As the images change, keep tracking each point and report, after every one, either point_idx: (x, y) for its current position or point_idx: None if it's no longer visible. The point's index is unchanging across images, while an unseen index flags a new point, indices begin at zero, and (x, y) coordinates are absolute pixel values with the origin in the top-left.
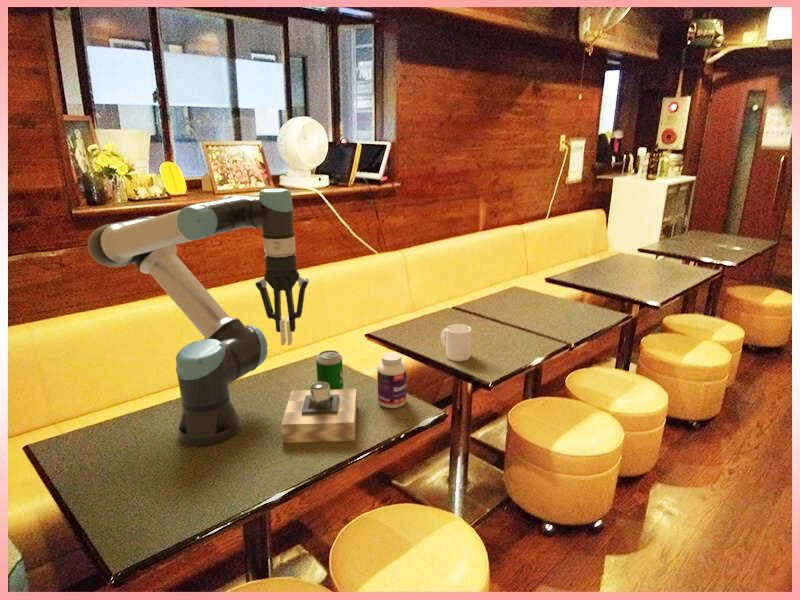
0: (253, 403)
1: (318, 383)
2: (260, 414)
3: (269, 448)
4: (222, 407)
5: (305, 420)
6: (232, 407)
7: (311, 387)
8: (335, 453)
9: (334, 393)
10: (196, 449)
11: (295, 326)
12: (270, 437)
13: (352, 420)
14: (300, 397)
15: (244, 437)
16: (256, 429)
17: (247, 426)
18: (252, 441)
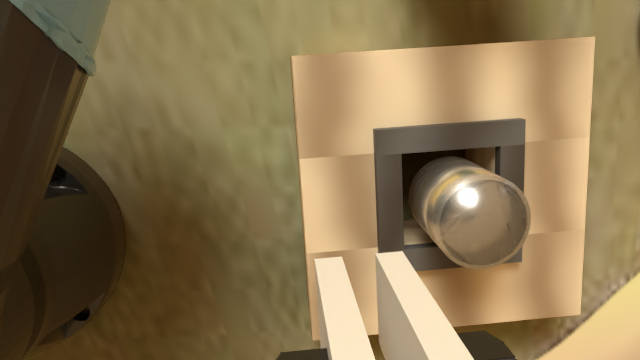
0: (108, 22)
1: (474, 198)
2: (170, 117)
3: (272, 335)
4: (41, 331)
5: None
6: (70, 251)
7: (443, 241)
8: None
9: (497, 83)
10: None
11: (511, 357)
12: (257, 274)
13: (574, 301)
14: (347, 125)
15: (165, 278)
16: (191, 226)
17: (149, 207)
18: (202, 300)
